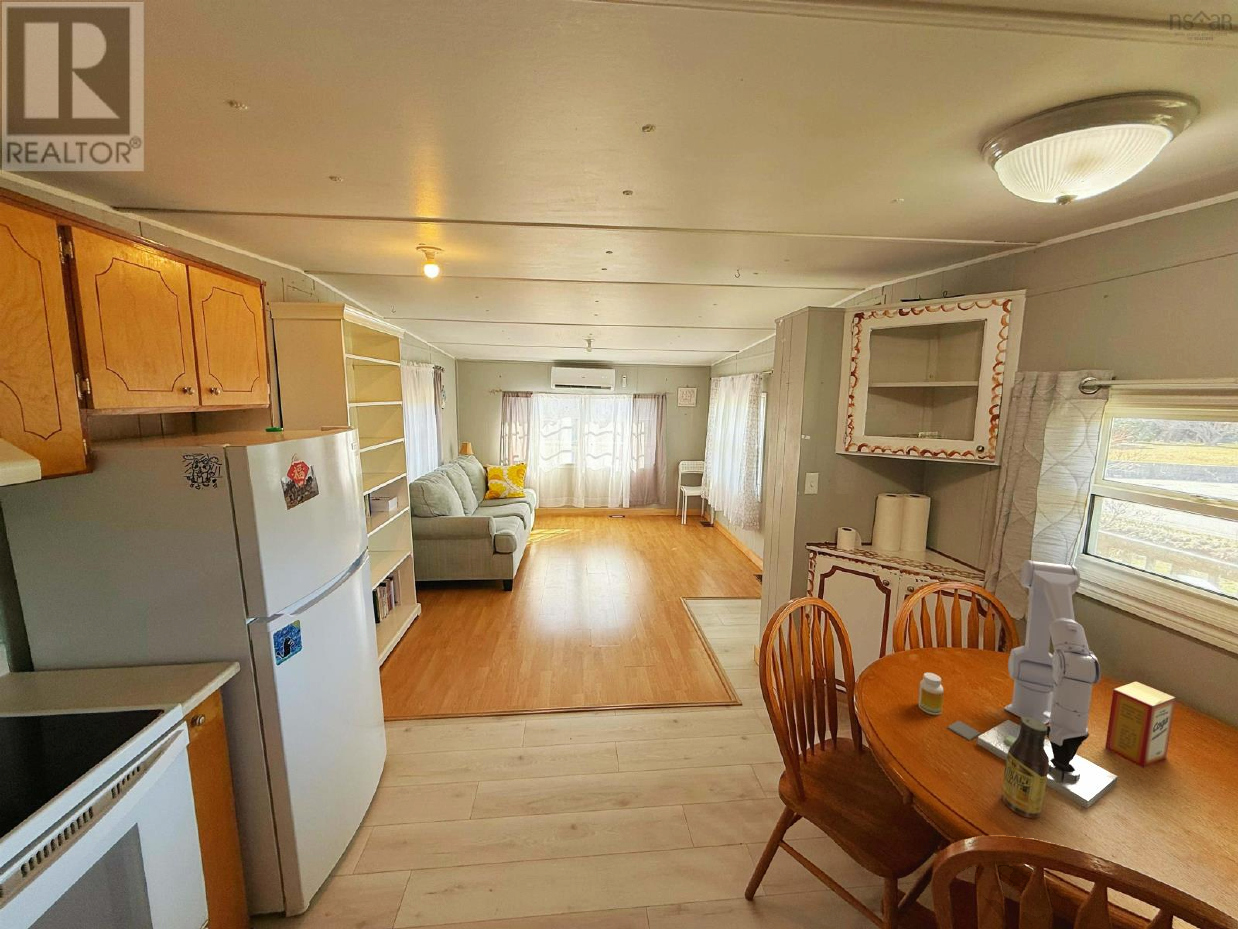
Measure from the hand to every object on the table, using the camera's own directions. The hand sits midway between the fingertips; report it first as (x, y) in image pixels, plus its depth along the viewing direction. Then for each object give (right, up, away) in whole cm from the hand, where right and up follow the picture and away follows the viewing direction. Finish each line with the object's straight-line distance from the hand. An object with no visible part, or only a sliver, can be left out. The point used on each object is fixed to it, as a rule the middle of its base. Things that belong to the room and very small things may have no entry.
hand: (1063, 760), depth 99 cm
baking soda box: (+25, -4, +8) cm, 27 cm away
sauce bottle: (-15, -6, -7) cm, 18 cm away
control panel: (0, -4, +5) cm, 6 cm away
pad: (-4, -2, +8) cm, 10 cm away
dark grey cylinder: (0, -2, 0) cm, 2 cm away
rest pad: (-10, -3, +15) cm, 19 cm away
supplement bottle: (-13, -2, +24) cm, 27 cm away
